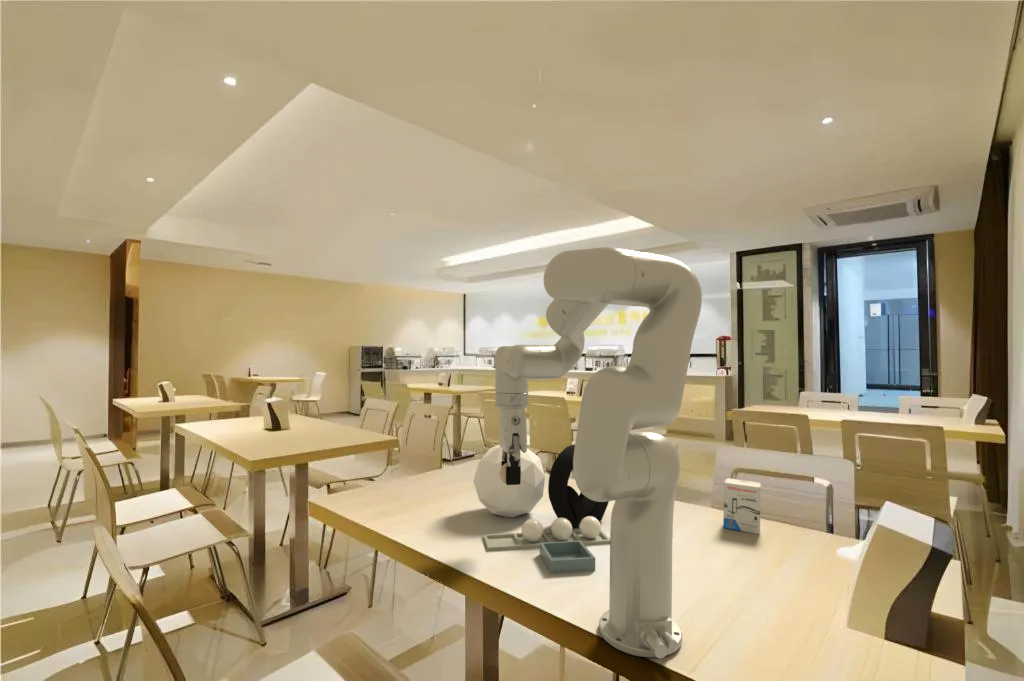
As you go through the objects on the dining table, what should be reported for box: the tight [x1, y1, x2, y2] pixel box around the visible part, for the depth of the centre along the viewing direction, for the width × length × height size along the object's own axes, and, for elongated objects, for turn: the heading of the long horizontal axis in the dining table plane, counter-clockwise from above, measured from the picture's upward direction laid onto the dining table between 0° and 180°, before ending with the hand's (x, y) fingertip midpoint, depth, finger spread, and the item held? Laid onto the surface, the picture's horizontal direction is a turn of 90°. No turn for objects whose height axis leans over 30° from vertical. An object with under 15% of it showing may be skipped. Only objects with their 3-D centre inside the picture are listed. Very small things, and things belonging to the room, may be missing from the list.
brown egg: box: [500, 463, 522, 484], centre depth 111 cm, size 5×5×5 cm
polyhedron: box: [473, 444, 546, 518], centre depth 134 cm, size 19×20×20 cm
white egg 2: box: [550, 518, 573, 540], centre depth 114 cm, size 5×5×5 cm
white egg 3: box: [579, 516, 602, 539], centre depth 116 cm, size 5×5×5 cm
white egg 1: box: [521, 518, 544, 542], centre depth 113 cm, size 5×5×5 cm
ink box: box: [722, 477, 762, 535], centre depth 125 cm, size 9×5×12 cm, turn 62°
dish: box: [539, 541, 596, 575], centre depth 102 cm, size 9×9×3 cm
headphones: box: [547, 443, 610, 529], centre depth 127 cm, size 19×7×20 cm, turn 129°
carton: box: [481, 529, 610, 553], centre depth 114 cm, size 9×29×1 cm, turn 101°
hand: (510, 480), depth 111 cm, fingers closed on brown egg, 4 cm apart
